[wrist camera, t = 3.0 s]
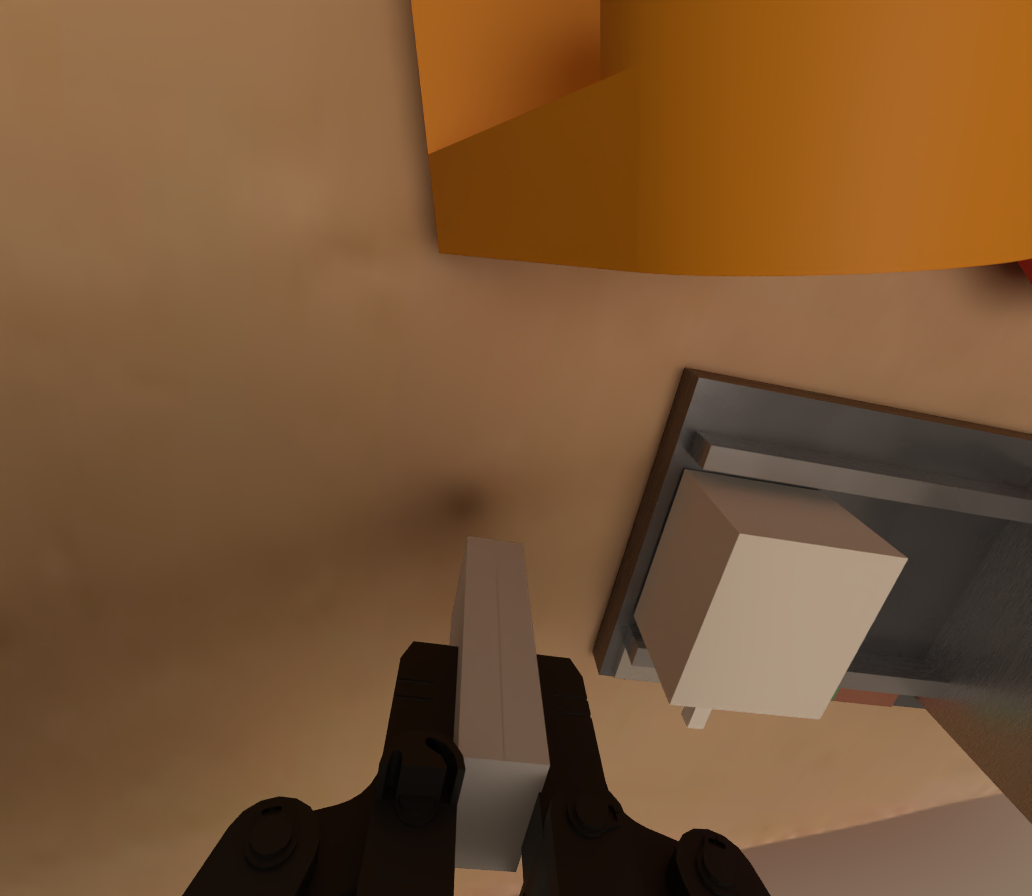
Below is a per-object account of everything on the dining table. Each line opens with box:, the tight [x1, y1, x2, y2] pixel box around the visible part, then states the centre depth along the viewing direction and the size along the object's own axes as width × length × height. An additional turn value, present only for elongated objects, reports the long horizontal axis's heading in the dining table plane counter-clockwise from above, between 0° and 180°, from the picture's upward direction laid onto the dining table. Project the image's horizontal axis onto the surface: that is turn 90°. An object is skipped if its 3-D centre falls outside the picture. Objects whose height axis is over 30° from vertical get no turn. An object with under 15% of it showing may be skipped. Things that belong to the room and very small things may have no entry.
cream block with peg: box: [634, 469, 908, 729], centre depth 18 cm, size 5×9×4 cm, turn 169°
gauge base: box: [593, 368, 1032, 824], centre depth 18 cm, size 16×12×7 cm
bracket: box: [411, 0, 1032, 276], centre depth 9 cm, size 11×7×12 cm, turn 94°
